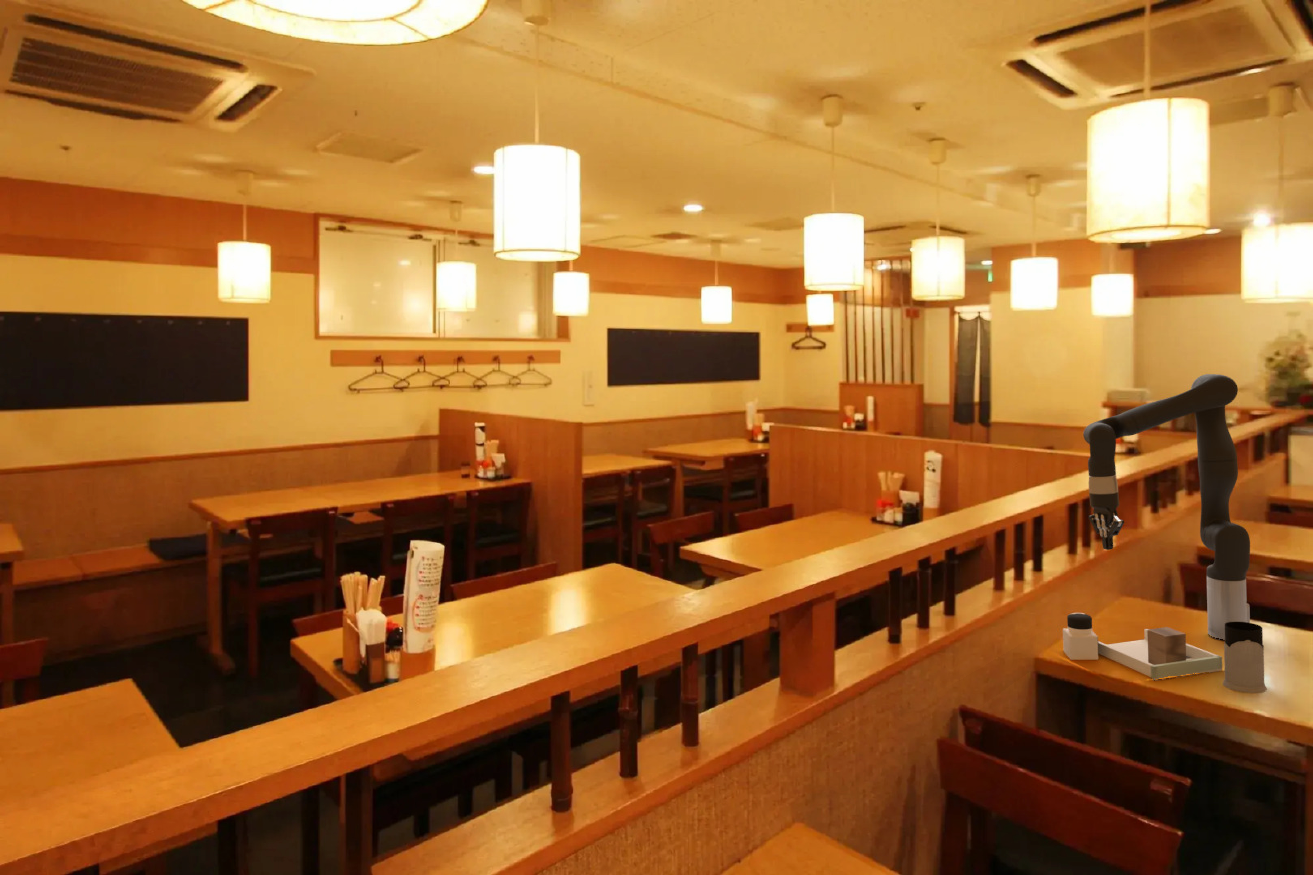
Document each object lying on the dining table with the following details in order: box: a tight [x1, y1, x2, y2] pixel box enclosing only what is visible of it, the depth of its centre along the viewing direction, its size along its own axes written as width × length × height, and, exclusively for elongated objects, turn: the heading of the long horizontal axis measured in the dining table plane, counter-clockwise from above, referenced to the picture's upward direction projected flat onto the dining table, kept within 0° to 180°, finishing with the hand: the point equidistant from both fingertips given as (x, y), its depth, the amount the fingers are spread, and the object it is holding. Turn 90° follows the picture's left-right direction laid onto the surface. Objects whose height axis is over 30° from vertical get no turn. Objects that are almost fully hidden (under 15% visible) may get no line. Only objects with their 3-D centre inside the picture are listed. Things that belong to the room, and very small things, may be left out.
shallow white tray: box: [1098, 628, 1223, 681], centre depth 220 cm, size 20×25×4 cm
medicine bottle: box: [1062, 612, 1099, 662], centre depth 225 cm, size 7×7×12 cm
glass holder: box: [1222, 621, 1267, 694], centre depth 201 cm, size 9×14×15 cm, turn 157°
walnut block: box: [1147, 626, 1187, 665], centre depth 213 cm, size 6×6×9 cm
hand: (1108, 549), depth 239 cm, fingers closed
